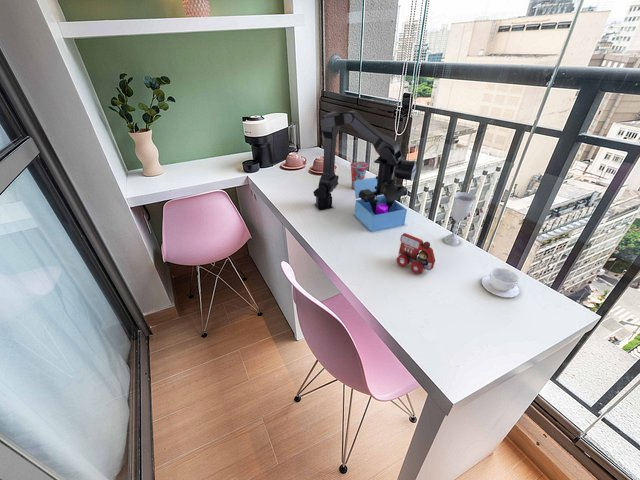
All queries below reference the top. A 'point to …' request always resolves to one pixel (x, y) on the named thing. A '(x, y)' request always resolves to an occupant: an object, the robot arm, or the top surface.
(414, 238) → the toy fire truck
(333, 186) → the robot arm
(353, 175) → the cup
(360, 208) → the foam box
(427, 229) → the top surface
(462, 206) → the chalice
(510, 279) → the teacup
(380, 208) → the crystal
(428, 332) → the top surface
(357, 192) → the flap
